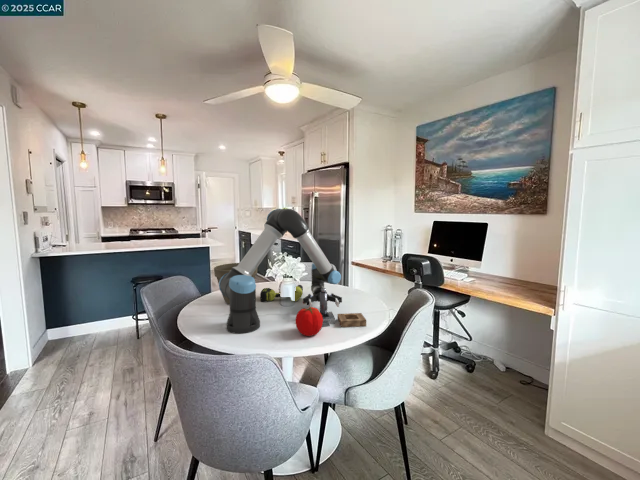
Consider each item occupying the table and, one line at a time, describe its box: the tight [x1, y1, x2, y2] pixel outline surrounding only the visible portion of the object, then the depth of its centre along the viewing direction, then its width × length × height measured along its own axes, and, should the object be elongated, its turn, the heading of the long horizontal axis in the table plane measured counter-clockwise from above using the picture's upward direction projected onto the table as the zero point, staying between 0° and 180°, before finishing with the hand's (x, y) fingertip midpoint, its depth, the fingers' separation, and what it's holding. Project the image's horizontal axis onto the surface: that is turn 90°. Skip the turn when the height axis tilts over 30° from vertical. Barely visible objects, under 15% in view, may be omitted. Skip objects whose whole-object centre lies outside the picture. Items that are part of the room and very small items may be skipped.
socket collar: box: [322, 311, 336, 325], centre depth 147 cm, size 10×10×2 cm
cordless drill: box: [259, 284, 304, 303], centre depth 189 cm, size 7×25×25 cm
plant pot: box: [213, 262, 259, 305], centre depth 177 cm, size 25×25×22 cm
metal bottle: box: [319, 287, 328, 317], centre depth 146 cm, size 4×4×16 cm
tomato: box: [295, 306, 323, 337], centre depth 131 cm, size 12×13×12 cm
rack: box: [336, 312, 367, 328], centre depth 143 cm, size 12×10×3 cm
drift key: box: [322, 323, 331, 328], centre depth 139 cm, size 8×2×1 cm, turn 111°
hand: (324, 305), depth 146 cm, fingers open, 13 cm apart
